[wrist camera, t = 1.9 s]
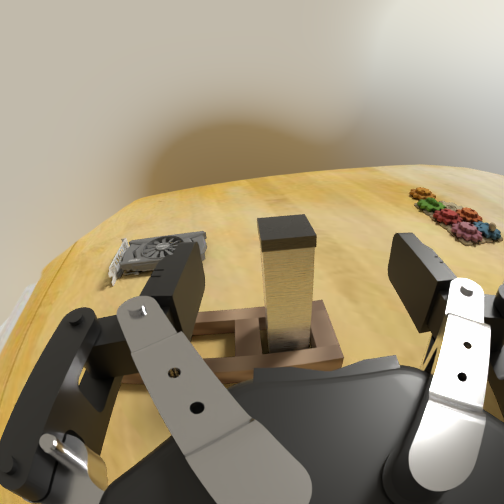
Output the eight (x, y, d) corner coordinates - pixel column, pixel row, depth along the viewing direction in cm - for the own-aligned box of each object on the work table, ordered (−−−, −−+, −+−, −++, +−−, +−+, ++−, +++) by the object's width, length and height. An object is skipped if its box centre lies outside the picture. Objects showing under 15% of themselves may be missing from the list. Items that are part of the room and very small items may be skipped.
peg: (302, 329, 32) (304, 214, 25) (309, 356, 28) (316, 235, 21) (265, 333, 32) (256, 218, 25) (269, 361, 28) (260, 240, 21)
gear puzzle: (395, 194, 71) (396, 180, 69) (437, 194, 71) (439, 181, 69) (464, 249, 44) (468, 230, 42) (507, 243, 44) (511, 226, 42)
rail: (321, 312, 34) (322, 298, 33) (340, 369, 26) (344, 356, 25) (118, 327, 34) (112, 314, 33) (98, 380, 26) (89, 368, 25)
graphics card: (101, 272, 41) (121, 236, 51) (108, 290, 42) (126, 253, 53) (203, 260, 42) (206, 225, 52) (207, 281, 43) (209, 243, 54)
